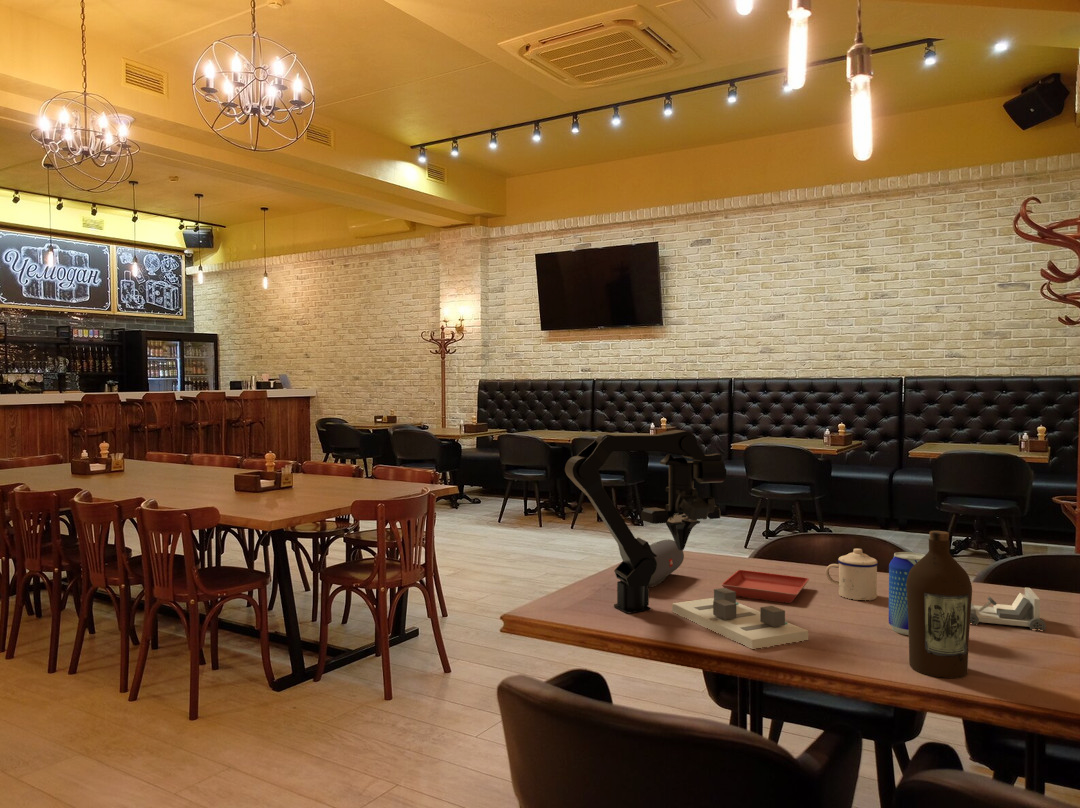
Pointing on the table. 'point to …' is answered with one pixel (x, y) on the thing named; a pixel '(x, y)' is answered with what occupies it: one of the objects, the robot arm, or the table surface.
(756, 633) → the switch board
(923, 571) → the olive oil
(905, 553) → the beer can
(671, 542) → the bluetooth speaker
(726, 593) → the grey block
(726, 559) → the table surface
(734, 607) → the dark grey box
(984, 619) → the toy car
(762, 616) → the dark grey block
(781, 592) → the plant saucer
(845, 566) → the teacup with lid
